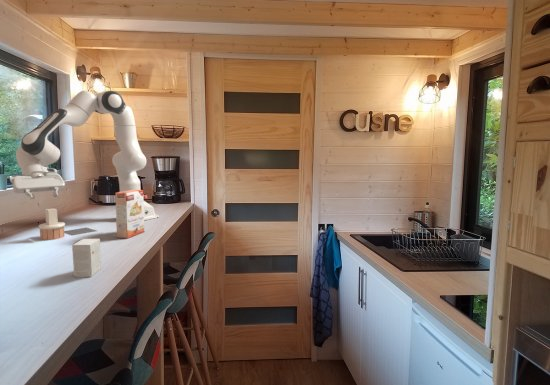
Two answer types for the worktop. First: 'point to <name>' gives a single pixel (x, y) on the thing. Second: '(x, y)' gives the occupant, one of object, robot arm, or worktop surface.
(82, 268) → the small box
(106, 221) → the worktop surface
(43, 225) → the lid
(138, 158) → the robot arm
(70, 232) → the rubber mat
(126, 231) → the cracker box
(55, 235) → the bowl
